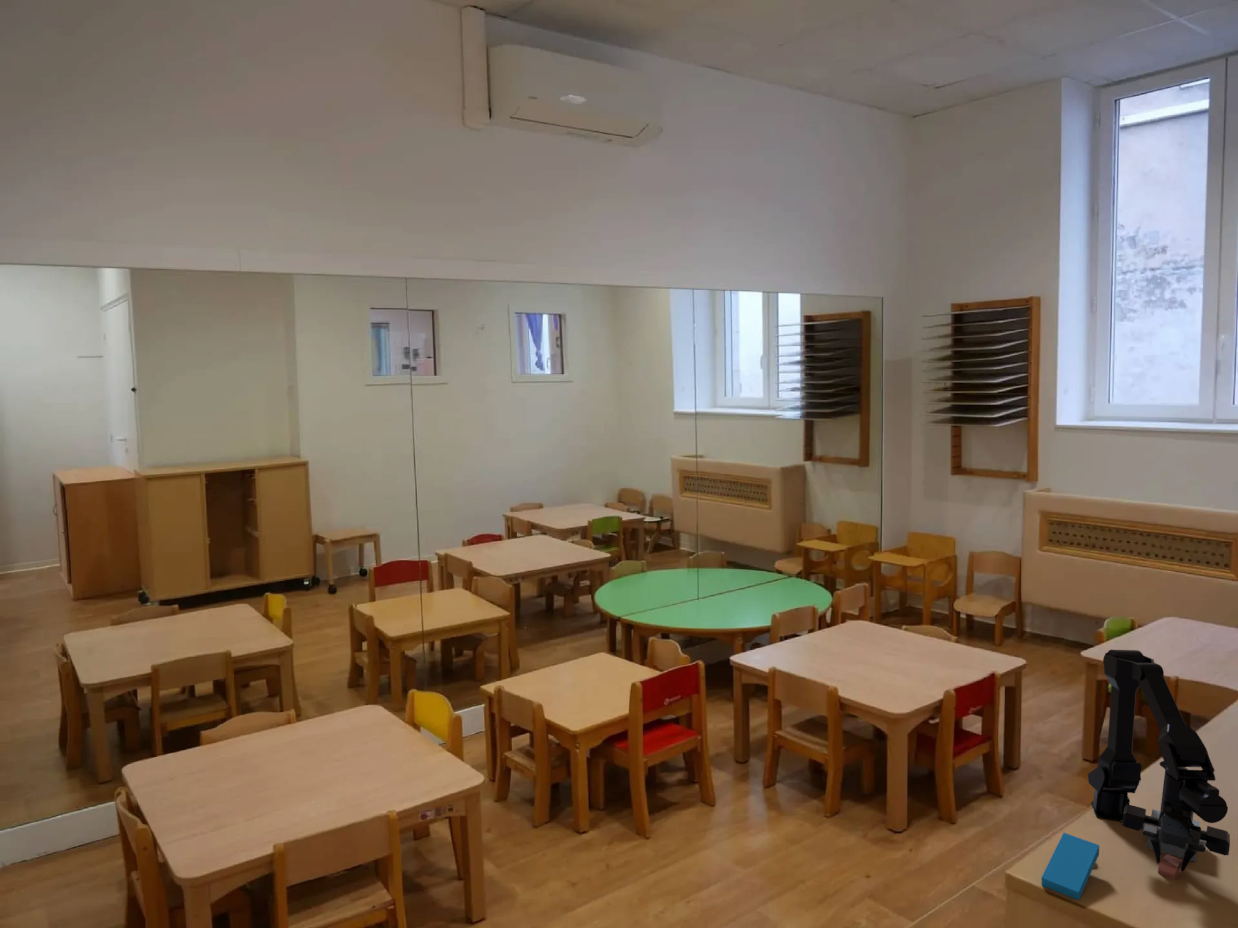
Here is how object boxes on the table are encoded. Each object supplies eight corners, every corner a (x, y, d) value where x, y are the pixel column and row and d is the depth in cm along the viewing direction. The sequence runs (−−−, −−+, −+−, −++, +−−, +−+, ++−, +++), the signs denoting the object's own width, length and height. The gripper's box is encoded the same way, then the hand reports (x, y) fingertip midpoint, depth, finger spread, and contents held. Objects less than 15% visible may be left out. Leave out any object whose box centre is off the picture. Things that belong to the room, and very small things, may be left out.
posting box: (1195, 861, 189) (1198, 839, 188) (1147, 847, 194) (1149, 826, 193) (1197, 842, 196) (1199, 821, 195) (1149, 829, 201) (1152, 808, 200)
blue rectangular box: (1078, 918, 176) (1103, 859, 188) (1078, 892, 174) (1104, 833, 186) (1041, 903, 181) (1068, 846, 193) (1041, 877, 178) (1068, 821, 190)
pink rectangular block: (1173, 880, 182) (1175, 869, 182) (1157, 873, 184) (1159, 862, 184) (1181, 871, 186) (1182, 860, 185) (1165, 864, 188) (1166, 853, 187)
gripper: (1123, 798, 181) (1115, 869, 183) (1233, 828, 171) (1224, 902, 173) (1128, 777, 190) (1120, 845, 192) (1233, 804, 180) (1224, 875, 182)
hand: (1170, 866), depth 185 cm, fingers open, 4 cm apart
